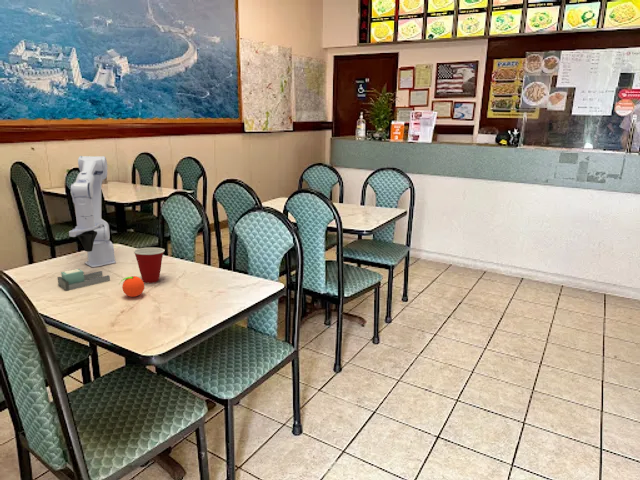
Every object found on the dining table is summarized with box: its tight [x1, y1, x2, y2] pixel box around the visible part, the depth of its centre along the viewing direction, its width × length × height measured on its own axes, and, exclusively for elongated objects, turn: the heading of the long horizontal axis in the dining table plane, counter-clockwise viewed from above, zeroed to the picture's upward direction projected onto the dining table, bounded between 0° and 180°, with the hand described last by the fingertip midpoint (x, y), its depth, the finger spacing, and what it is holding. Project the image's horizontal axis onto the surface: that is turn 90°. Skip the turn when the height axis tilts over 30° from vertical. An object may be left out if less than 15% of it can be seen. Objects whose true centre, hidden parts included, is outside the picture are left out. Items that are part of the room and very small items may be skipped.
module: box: [60, 268, 85, 284], centre depth 160 cm, size 6×4×5 cm, turn 138°
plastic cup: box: [132, 247, 166, 284], centre depth 166 cm, size 11×11×12 cm
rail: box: [57, 270, 111, 292], centre depth 163 cm, size 15×7×3 cm, turn 138°
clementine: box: [118, 276, 145, 298], centre depth 152 cm, size 8×7×7 cm
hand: (88, 251), depth 167 cm, fingers closed
